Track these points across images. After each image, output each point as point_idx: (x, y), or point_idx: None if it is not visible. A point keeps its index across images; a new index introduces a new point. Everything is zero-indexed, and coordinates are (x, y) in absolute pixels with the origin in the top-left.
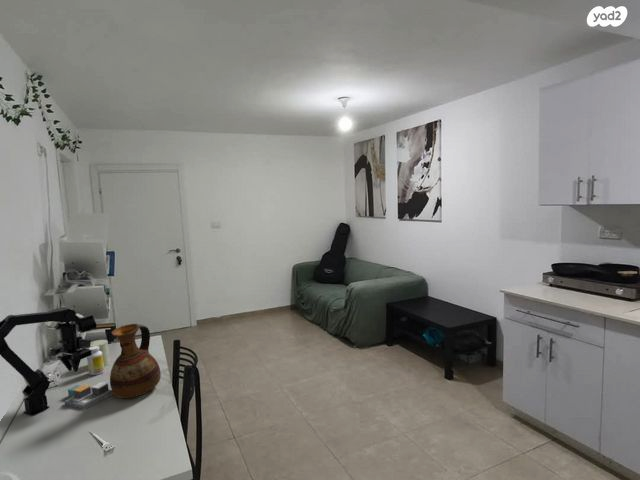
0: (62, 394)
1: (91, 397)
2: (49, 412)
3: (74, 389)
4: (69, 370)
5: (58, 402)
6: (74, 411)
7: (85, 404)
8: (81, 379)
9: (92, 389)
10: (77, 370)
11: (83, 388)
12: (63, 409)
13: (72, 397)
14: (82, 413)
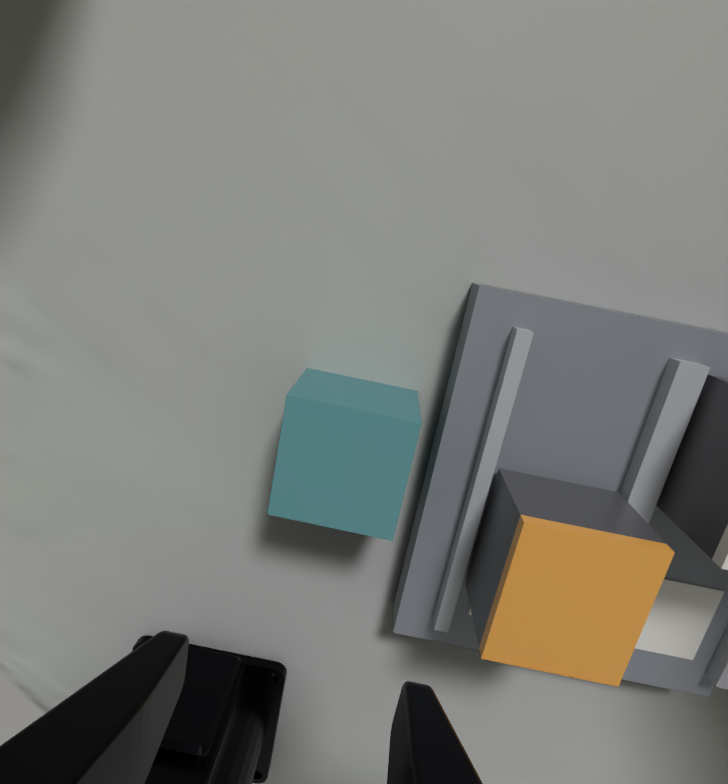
0: (163, 429)
1: (675, 551)
2: (362, 720)
3: (485, 647)
4: (173, 699)
5: (283, 575)
6: (603, 699)
7: (708, 680)
8: (11, 2)
9: (704, 544)
10: (435, 706)
11: (610, 616)
12: (457, 676)
13: (451, 599)
14: (715, 722)
